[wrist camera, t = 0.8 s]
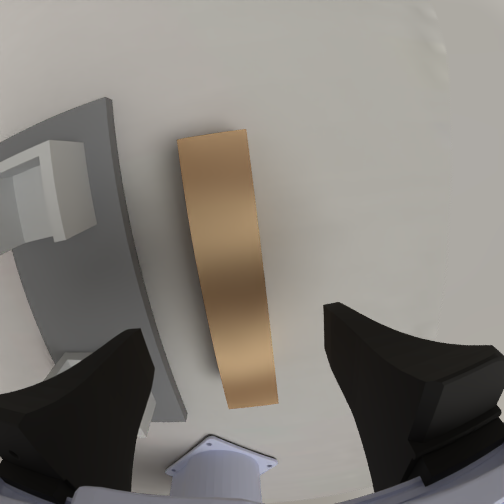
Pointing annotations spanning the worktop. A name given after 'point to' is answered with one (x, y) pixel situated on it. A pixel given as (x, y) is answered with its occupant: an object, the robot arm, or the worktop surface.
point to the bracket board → (79, 244)
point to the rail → (230, 263)
